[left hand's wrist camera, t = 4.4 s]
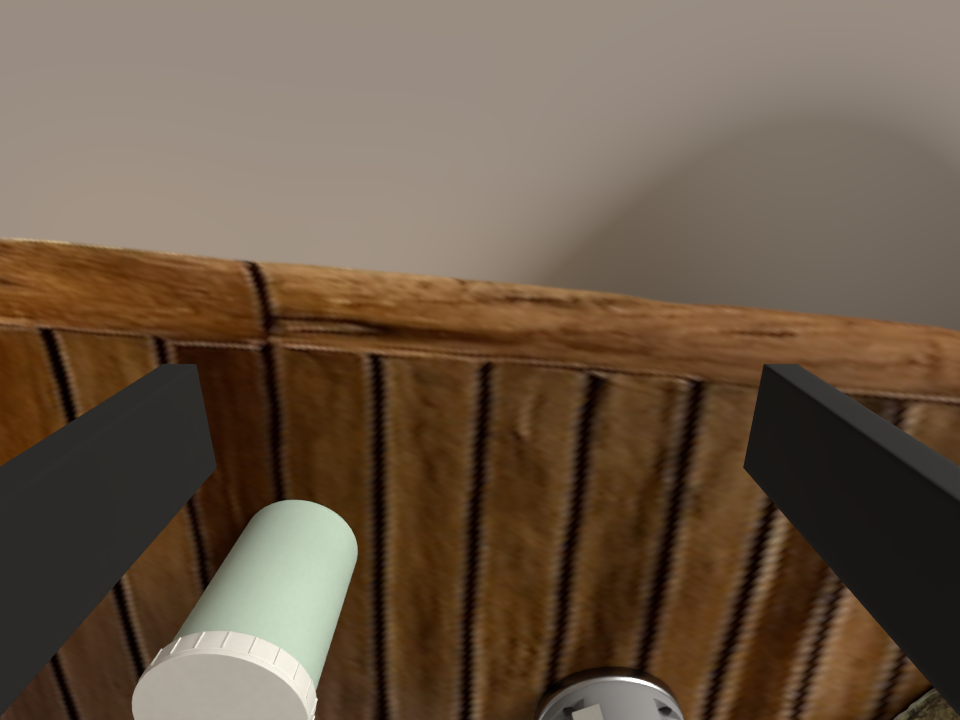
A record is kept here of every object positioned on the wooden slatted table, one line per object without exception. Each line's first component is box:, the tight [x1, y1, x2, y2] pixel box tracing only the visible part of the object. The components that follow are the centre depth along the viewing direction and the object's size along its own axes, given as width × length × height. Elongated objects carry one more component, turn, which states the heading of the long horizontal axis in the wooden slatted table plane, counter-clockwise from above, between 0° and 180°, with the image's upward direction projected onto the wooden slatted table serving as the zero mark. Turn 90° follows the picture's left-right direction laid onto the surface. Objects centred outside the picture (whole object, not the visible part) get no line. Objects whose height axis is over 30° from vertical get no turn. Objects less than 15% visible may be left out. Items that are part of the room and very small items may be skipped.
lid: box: [132, 631, 318, 720], centre depth 34 cm, size 11×11×2 cm
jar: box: [171, 500, 358, 692], centre depth 41 cm, size 10×10×15 cm
